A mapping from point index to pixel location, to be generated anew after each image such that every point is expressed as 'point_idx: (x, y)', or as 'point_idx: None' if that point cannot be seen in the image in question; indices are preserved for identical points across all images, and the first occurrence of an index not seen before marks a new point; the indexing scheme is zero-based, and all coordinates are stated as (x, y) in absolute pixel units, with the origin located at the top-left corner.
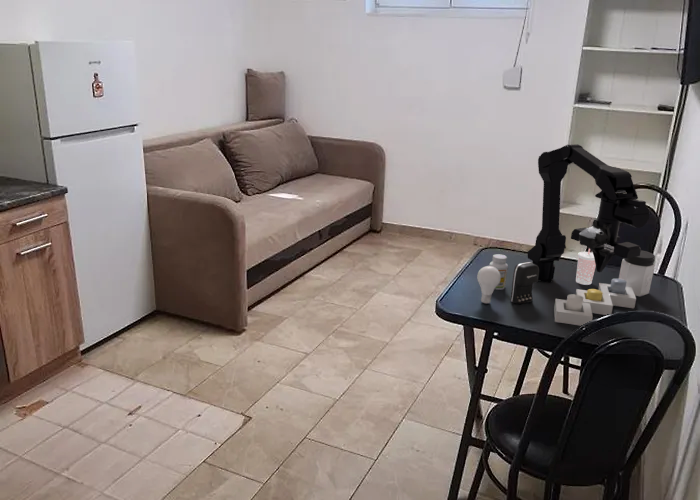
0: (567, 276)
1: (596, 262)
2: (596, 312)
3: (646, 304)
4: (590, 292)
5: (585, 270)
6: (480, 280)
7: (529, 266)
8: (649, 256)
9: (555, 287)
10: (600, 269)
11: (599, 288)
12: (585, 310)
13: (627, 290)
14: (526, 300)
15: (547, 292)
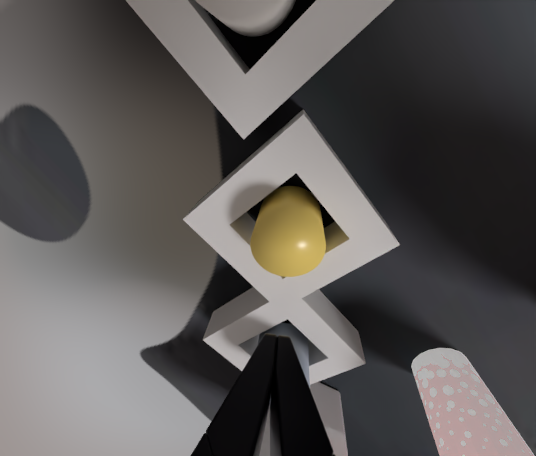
0: (509, 367)
1: (297, 416)
2: (237, 167)
3: (220, 355)
4: (293, 218)
5: (457, 405)
6: None
7: None
8: None
9: (509, 254)
10: (253, 356)
11: (347, 336)
12: (182, 11)
13: None
14: None
15: (521, 174)
